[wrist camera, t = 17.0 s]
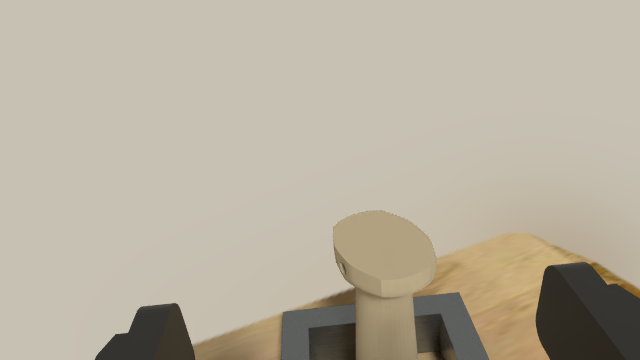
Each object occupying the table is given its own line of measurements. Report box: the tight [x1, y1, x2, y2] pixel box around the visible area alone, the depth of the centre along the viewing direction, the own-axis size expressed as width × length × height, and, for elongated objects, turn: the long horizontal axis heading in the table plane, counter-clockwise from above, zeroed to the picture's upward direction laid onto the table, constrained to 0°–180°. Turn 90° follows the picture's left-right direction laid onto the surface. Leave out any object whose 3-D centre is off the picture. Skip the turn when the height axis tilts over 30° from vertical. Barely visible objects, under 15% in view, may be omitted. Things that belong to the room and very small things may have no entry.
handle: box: [333, 211, 436, 360], centre depth 29 cm, size 5×6×15 cm
